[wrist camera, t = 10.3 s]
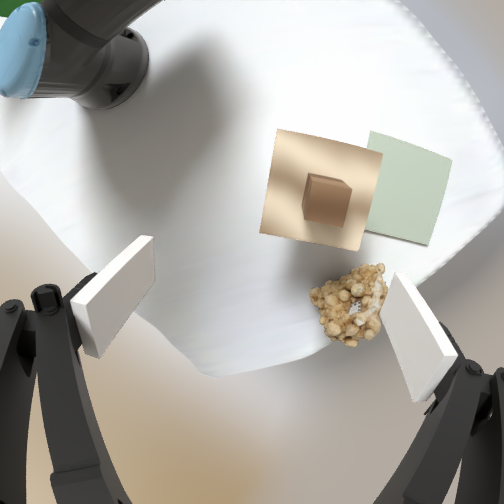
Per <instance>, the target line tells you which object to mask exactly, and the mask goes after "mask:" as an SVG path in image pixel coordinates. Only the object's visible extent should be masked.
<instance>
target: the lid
mask: <svg viewBox="0 0 504 504" xmlns="http://www.w3.org/2000/svg"><path fill="white" fill-rule="evenodd" d="M382 157H383V153H380V152H377V151H373V150H369V149H366V148H362V147H358V146H355V145H351V144H347V143H343V142H339V141H334V140H330V139H326V138H321V137H317V136H312V135H307V134H302V133H297V132H292V131H286V130H281V129H277V132H276V138H275V144H274V150H273V156H272V162H271V168H270V174H269V179H268V185H267V191H266V197H265V203H264V209H263V214H262V220H261V226H260V232H259V233H263V234H268V235H274V236H279V237H285V238H290V239H295V240H300V241H306V242H311V243H316V244H321V245H327V246H332V247H337V248H342V249H347V250H352V251H357V252H358V250H359V247H360V243H361V240H362V237H363V233H364V230H365V226H366V222H367V219H368V215H369V211H370V208H371V204H372V200H373V196H374V192H375V188H376V184H377V179H378V175H379V171H380V166H381V162H382Z"/></svg>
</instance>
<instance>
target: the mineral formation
mask: <svg viewBox="0 0 504 504" xmlns="http://www.w3.org/2000/svg"><path fill="white" fill-rule="evenodd" d="M384 272H385V266H384V264H383V263H379V264H377V265H376V266H374V265H367V264H363V265H361V266H359V267H357V268H354V269H352V270H351V271H350V273H349V274H348V275H344V276H342V277H341V278H340V280H338V281H334V282H333V281H332V280H328V281H326V282H325V285H324V286H323V287H321V288H318V287H316V288H312V289H310V294H309V295H310V298H311V302H312V303H313V304H314V305H315V306H318V307H319V310H318V312H319V314H320V315H321V316H322V317H320V321H319V322H320V324H321V325H324V328H325V331H324V333H325V334H326V336H328V337H329V338H331V340H332V341H335V340H340V341H341V342H342V343H344V342H345V346H349V347H356V346H357V345H358V340H360V339H363V338H366V339H367V340H372V339H374V336H375V335H376V334H378V333H379V331H380V327H381V320H380V318H379V317H380V311H381V308H382V306H383V303H384V301H385V298H386V296H387V293H388V287H387V286H386V282H383V277H382V274H383V273H384Z"/></svg>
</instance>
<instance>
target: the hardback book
mask: <svg viewBox="0 0 504 504" xmlns="http://www.w3.org/2000/svg"><path fill="white" fill-rule="evenodd" d="M41 1H42V0H0V16H2V17H9V16H10V14H11V13H12V12H13V11H14V10H15V9H16V8H18V7H20V6H22V5H23V4H25V3H31V2H37V3H38V4H39V3H40V2H41Z"/></svg>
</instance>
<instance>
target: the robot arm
mask: <svg viewBox="0 0 504 504" xmlns="http://www.w3.org/2000/svg"><path fill="white" fill-rule="evenodd" d="M161 1H163V0H42V1H41V2H40V3H39V4H38V3H37V2H31V3H25V4H23V5H22V6H20V7H18V8H16V9H15V10H14V11H13V12H12V13H11V14H10V16H9V17H8V18H7V19H6V21H5V22H4V24H3V26H2V28H1V29H0V95H2V96H4V97H12V98H20V99H27V98H54V97H69V98H71V99H72V100H74V101H76V102H77V103H79V104H80V105H82V106H84V107H86V108H90V109H108V108H112V107H115V106H117V105H119V104H121V103H122V102H124V101H125V100H126V99H128V98H129V97H130V96H131V95H132V94H133V93H134V92H135V90H136V89H137V88H138V86H139V85H140V83H141V81H142V79H143V77H144V75H145V72H146V69H147V65H148V49H147V45H146V42H145V40H144V39H143V37H142V36H141V35H140V34H139V33H138V32H136V31H134V30H132V29H131V28H128V26H129V25H130V24H131V23H133V22H134V21H135V20H136V19H138V18H139V17H140V16H142V15H143V14H144V13H146V12H147V11H148V10H150V9H151V8H153V7H154V6H155V5H157V4H158V3H160V2H161ZM154 282H155V266H154V237H152V236H145V235H140V236H139V237H138V238H137V239H136V240H135V241H134V242H132V243H131V244H130V245H129V246H128V247H127V248H126V249H124V250H123V251H122V252H121V253H120V254H119V255H118V256H117V257H115V258H114V259H113V260H112V261H111V262H110V263H109V264H108V265H107V266H106V267H105V268H103V269H102V270H101V271H100V272H99V273H95V272H94V273H92V274H90V275H88V276H86V277H85V278H84V279H82V280H81V281H80V282H79V284H77V285H76V286H75V287H74V288H73V289H72V290H71V291H70V292H69V293H67V294H66V295H65V296H64V297H63V298H62V296H61V291H60V288H59V287H58V286H57V285H54V284H44V285H41V286H39V287H37V288H35V289H34V290H33V292H32V293H31V299H32V302H33V305H34V309H35V311H31V310H25V308H24V305H23V302H22V301H20V300H16V299H13V300H9V301H6V302H5V303H3V304H2V305H1V306H0V504H26V453H27V439H28V428H29V419H30V411H31V403H32V397H33V390H34V385H35V379H36V374H37V373H38V385H39V394H40V402H41V409H42V416H43V422H44V428H45V433H46V438H47V443H48V448H49V452H50V456H51V460H52V464H53V469H54V472H53V473H52V474H51V475H50V481H51V486H52V489H53V493H54V496H55V499H56V502H57V504H132V502H131V501H130V499H129V498H128V496H127V494H126V492H125V491H124V488H123V486H122V484H121V482H120V480H119V478H118V475H117V473H116V471H115V469H114V466H113V464H112V461H111V459H110V456H109V454H108V451H107V449H106V446H105V443H104V440H103V438H102V435H101V432H100V429H99V426H98V423H97V420H96V417H95V414H94V411H93V407H92V404H91V400H90V397H89V393H88V390H87V386H86V382H85V379H84V374H83V370H82V365H81V361H80V356H79V353H78V348H79V347H80V346H81V344H82V345H83V348H84V351H85V354H87V355H90V356H93V357H95V358H98V359H100V358H101V357H102V355H103V354H104V352H105V350H106V349H107V348H108V346H109V345H110V343H111V342H112V340H113V339H114V337H115V336H116V334H117V333H118V332H119V330H120V329H121V327H122V326H123V324H124V323H125V322H126V320H127V319H128V318H129V316H130V315H131V313H132V312H133V311H134V309H135V308H136V306H137V305H138V304H139V302H140V301H141V300H142V298H143V297H144V296H145V294H146V293H147V291H148V290H149V289H150V287H151V286H152V285H153V283H154ZM380 317H381V319H382V321H383V323H384V326H385V328H386V331H387V333H388V336H389V338H390V341H391V343H392V346H393V348H394V351H395V353H396V356H397V359H398V361H399V364H400V367H401V369H402V372H403V375H404V378H405V381H406V383H407V386H408V388H409V392H410V395H411V398H412V401H413V402H423V401H427V400H428V399H429V398H430V396H431V395H432V394H433V392H434V394H435V396H436V399H435V401H434V402H433V403H432V405H431V406H430V407H429V408H428V409H427V411H426V412H425V413H424V415H426V414H427V415H426V418H425V420H424V422H423V424H422V426H421V428H420V430H419V432H418V433H417V435H416V437H415V439H414V441H413V443H412V444H411V446H410V448H409V450H408V451H407V453H406V455H405V456H404V458H403V460H402V461H401V463H400V465H399V467H398V468H397V470H396V471H395V473H394V474H393V476H392V477H391V479H390V480H389V482H388V483H387V485H386V486H385V488H384V489H383V490H382V492H381V493H380V495H379V496H378V497H377V499H376V500H375V501H374V503H373V504H442V503H443V500H444V498H445V496H446V494H447V492H448V490H449V488H450V485H451V483H452V481H453V478H454V476H455V474H456V471H457V469H458V466H459V463H460V461H461V458H462V463H461V470H460V477H459V483H458V489H457V494H456V499H455V504H504V368H502V367H500V368H498V369H497V370H496V372H495V373H494V375H488V374H484V371H483V369H482V368H481V366H480V365H479V364H478V363H476V362H475V361H472V360H469V359H465V357H464V355H463V353H462V352H461V350H460V348H459V346H458V345H457V343H456V342H455V340H454V338H453V337H452V336H451V333H450V332H449V330H448V329H447V328H446V327H445V326H444V325H443V324H442V323H441V322H438V321H437V319H436V318H435V316H434V314H433V313H432V311H431V310H430V308H429V307H428V305H427V304H426V302H425V301H424V299H423V298H422V296H421V295H420V293H419V292H418V290H417V289H416V287H415V286H414V284H413V283H412V282H411V280H410V279H409V277H408V276H407V274H401V273H394V276H393V279H392V282H391V285H390V287H389V290H388V293H387V296H386V298H385V301H384V303H383V306H382V308H381V311H380ZM491 414H492V416H491V418H490V415H491Z"/></svg>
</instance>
